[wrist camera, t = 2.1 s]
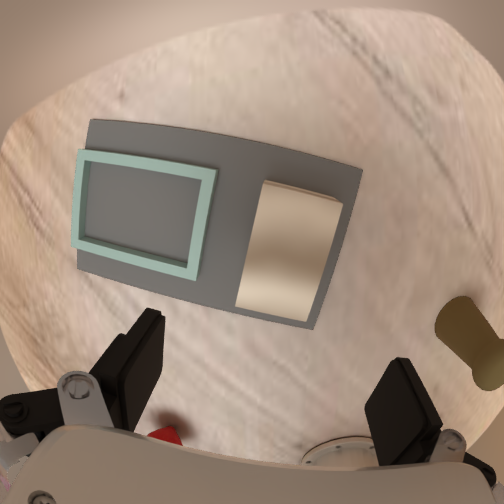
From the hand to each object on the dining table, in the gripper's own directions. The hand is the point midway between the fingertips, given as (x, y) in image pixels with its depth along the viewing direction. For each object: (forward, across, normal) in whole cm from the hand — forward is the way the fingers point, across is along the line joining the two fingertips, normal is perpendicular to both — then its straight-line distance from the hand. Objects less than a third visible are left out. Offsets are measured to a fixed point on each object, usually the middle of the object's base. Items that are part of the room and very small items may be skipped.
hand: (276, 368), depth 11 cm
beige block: (+16, -1, 0) cm, 16 cm away
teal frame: (+17, +13, 0) cm, 21 cm away
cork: (+17, -23, +4) cm, 28 cm away
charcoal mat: (+17, +7, 0) cm, 18 cm away
